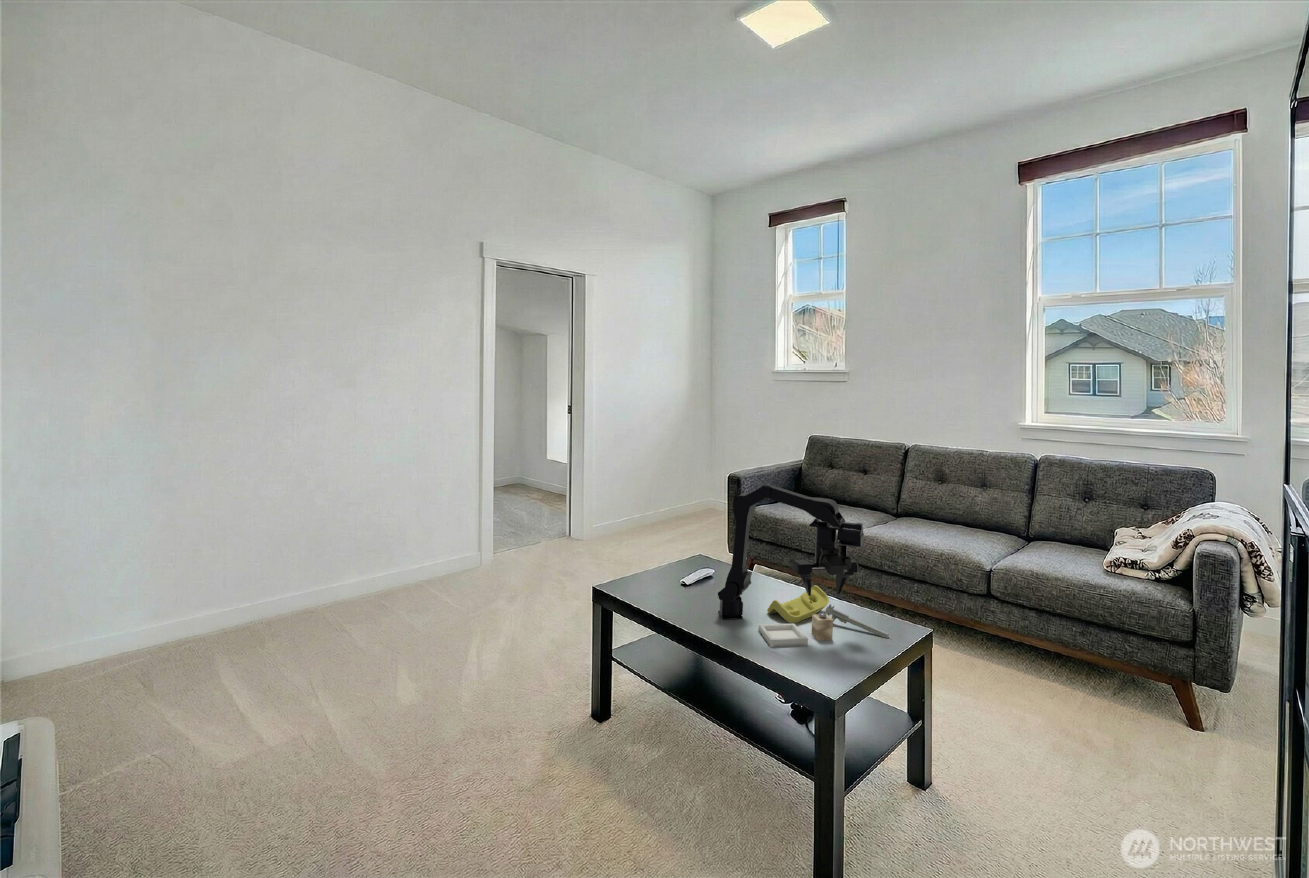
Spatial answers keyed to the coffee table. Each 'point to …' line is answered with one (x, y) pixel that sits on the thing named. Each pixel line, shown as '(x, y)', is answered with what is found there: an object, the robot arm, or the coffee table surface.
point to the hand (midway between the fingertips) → (823, 594)
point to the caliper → (853, 621)
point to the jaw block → (822, 626)
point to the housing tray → (783, 635)
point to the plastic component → (801, 606)
